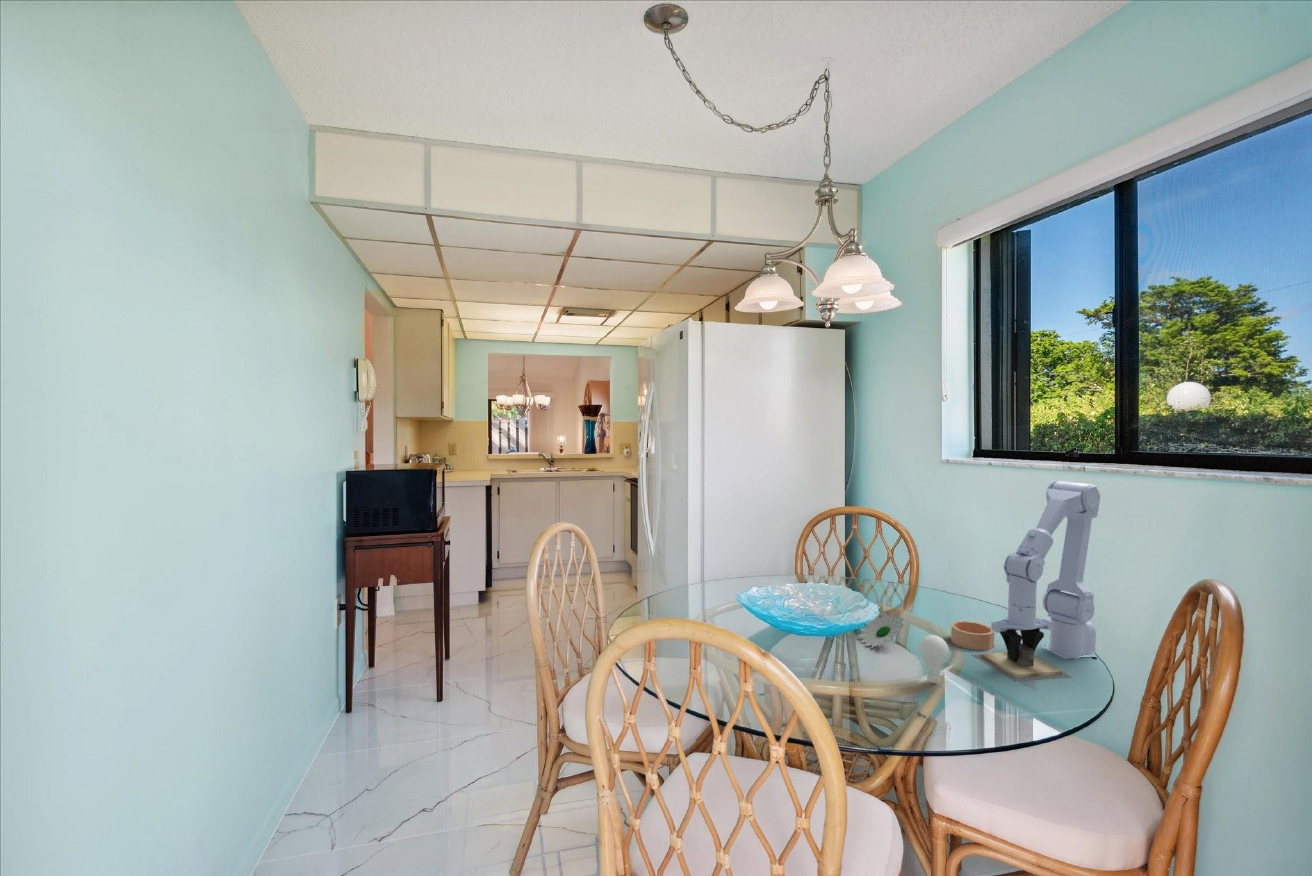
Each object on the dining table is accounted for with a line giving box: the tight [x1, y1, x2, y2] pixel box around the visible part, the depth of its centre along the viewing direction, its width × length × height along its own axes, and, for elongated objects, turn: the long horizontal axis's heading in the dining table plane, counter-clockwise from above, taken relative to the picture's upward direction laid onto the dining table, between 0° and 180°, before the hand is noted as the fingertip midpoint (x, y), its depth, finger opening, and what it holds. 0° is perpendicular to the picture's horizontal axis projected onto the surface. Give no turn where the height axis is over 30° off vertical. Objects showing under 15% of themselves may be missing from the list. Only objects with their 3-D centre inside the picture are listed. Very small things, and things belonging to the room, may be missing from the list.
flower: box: [857, 610, 904, 649], centre depth 171 cm, size 13×6×30 cm
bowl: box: [950, 620, 995, 651], centre depth 163 cm, size 10×10×4 cm
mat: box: [971, 653, 1073, 682], centre depth 148 cm, size 15×15×1 cm
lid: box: [980, 642, 1063, 678], centre depth 148 cm, size 12×12×5 cm
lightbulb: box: [918, 634, 950, 685], centre depth 139 cm, size 6×6×11 cm
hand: (1020, 659), depth 148 cm, fingers open, 3 cm apart
